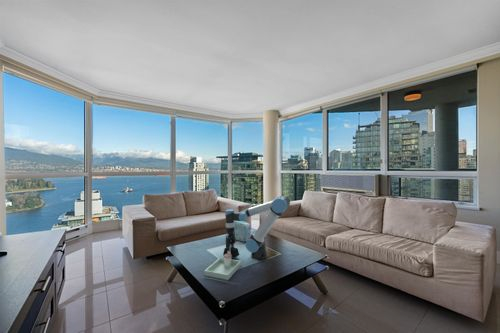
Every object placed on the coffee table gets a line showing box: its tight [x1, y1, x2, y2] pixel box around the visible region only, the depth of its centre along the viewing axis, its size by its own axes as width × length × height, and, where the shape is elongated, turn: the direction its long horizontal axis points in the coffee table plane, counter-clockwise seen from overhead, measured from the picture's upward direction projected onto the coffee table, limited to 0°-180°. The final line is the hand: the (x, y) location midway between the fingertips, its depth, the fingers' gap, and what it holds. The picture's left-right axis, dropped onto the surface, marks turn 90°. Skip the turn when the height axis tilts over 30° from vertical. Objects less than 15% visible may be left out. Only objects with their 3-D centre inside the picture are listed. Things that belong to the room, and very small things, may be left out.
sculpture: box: [222, 239, 240, 259], centre depth 189 cm, size 8×13×15 cm, turn 58°
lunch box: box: [234, 221, 252, 243], centre depth 238 cm, size 27×10×21 cm, turn 45°
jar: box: [223, 254, 232, 268], centre depth 173 cm, size 6×6×9 cm
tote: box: [203, 257, 242, 282], centre depth 166 cm, size 20×24×4 cm
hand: (231, 252), depth 189 cm, fingers closed on sculpture, 7 cm apart
